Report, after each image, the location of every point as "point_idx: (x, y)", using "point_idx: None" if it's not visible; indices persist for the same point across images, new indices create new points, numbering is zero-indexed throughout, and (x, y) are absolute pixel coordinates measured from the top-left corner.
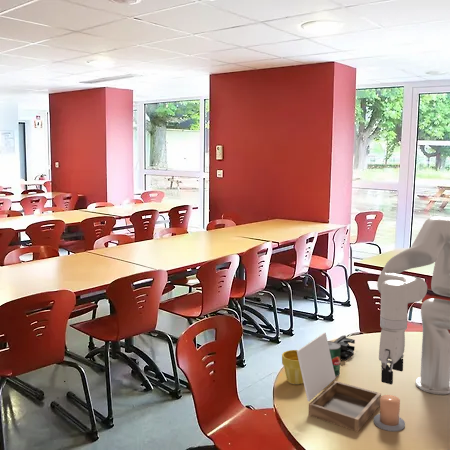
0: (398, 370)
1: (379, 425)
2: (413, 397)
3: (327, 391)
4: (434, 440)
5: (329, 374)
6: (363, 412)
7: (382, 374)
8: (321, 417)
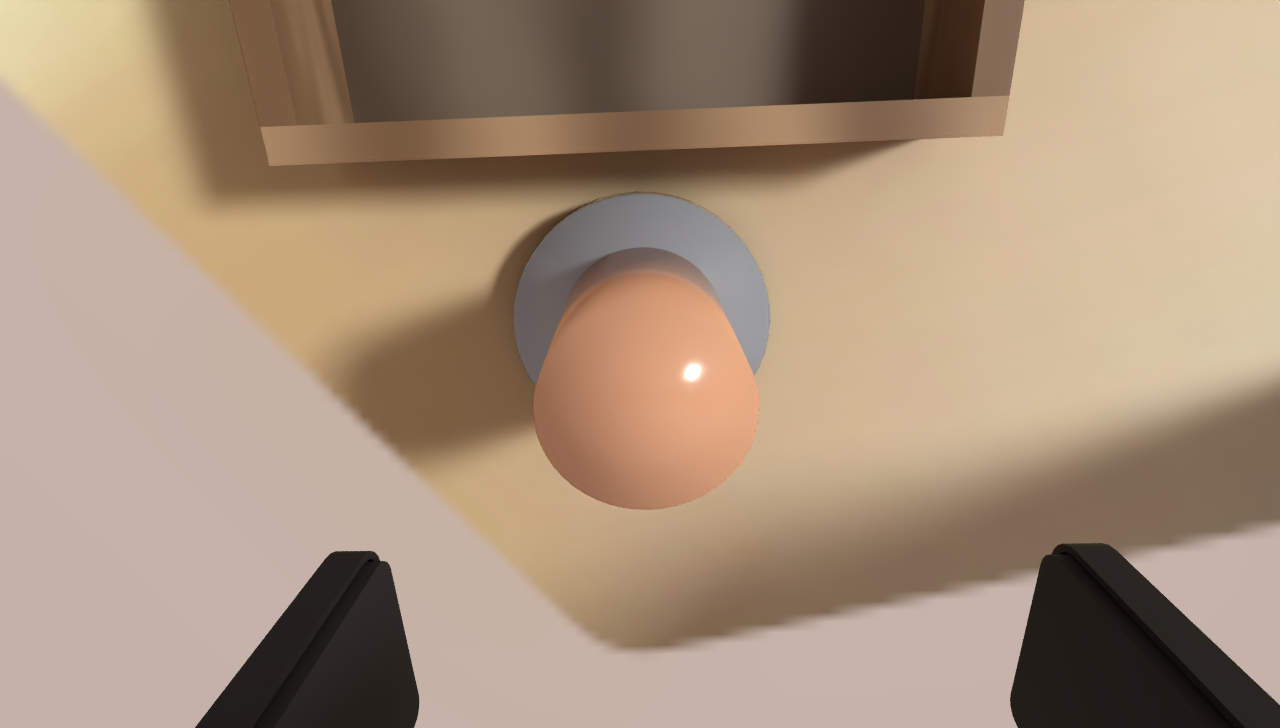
0: (1023, 661)
1: (518, 288)
2: (1226, 326)
3: None
4: (626, 607)
5: None
6: (446, 150)
7: (233, 707)
8: None
